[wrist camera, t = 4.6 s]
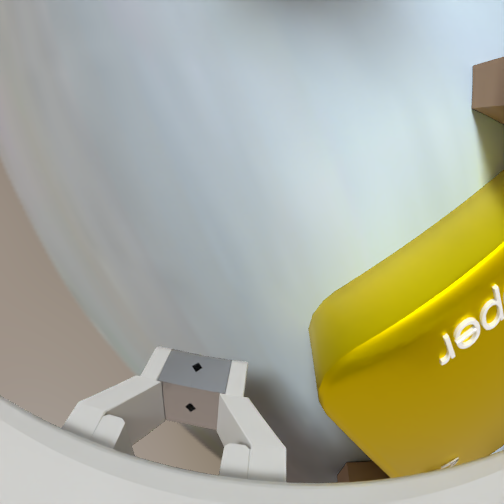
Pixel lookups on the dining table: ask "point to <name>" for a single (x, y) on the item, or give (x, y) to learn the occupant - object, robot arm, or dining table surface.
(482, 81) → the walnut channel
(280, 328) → the dining table surface
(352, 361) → the element tile
